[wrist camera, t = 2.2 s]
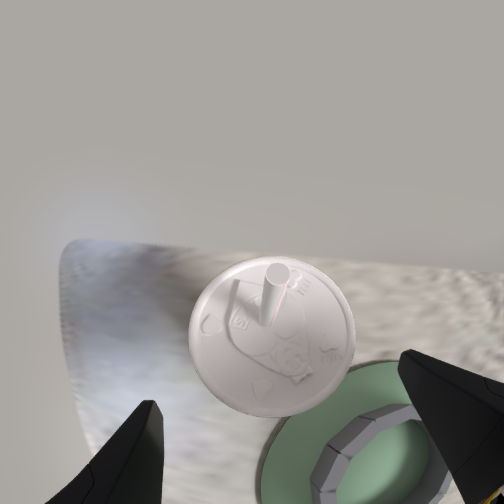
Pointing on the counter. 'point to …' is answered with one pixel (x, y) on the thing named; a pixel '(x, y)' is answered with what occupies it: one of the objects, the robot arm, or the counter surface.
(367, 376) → the putting green cup
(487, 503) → the decorated donut
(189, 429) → the counter surface
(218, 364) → the smoothie
